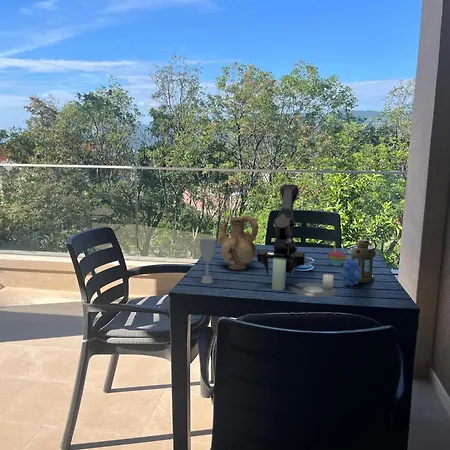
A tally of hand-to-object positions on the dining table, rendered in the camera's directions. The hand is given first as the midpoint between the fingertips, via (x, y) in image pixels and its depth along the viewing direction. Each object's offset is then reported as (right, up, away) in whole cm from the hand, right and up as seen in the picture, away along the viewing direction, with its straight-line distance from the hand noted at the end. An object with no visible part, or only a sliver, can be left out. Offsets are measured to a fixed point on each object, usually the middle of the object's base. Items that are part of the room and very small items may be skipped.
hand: (278, 275), depth 176 cm
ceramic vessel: (-15, 0, +37) cm, 40 cm away
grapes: (+31, -6, +9) cm, 33 cm away
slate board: (+14, -7, +2) cm, 15 cm away
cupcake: (+33, 0, +45) cm, 56 cm away
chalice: (-28, -4, +13) cm, 31 cm away
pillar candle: (0, -6, +2) cm, 7 cm away
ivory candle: (+20, -5, +4) cm, 21 cm away
